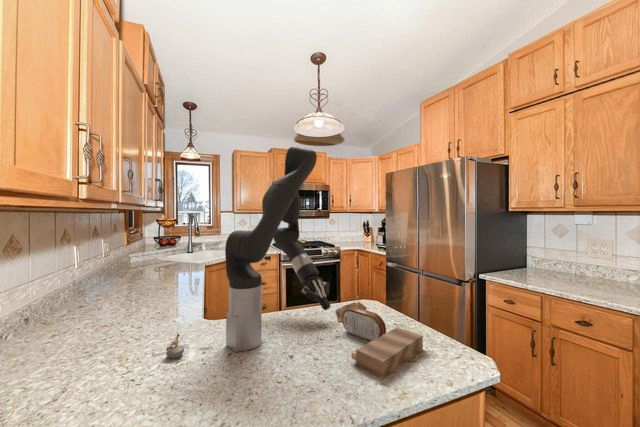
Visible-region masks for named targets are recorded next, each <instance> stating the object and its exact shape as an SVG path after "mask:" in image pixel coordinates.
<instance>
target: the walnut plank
mask: <svg viewBox="0 0 640 427" xmlns="http://www.w3.org/2000/svg"><path fill="white" fill-rule="evenodd" d="M423 337H424V336H423V334H419V333H416V332H414V331H413V332H412V331H410V330H408V329H404V328H401V327H399V326H398V327H397V326H396V327H395V328H393V329H391V330H389V331H386V334H384V335H382V336H380V337H378V338H377V339H375V340H373V341H371V342H370V341H369V342H367V343H366V344H364V345H362V346H360V347H359V348H357V349H355V350H354V351H352V352H350V353H351V359H352V360H354V361H355V366H356V367H358V366H359V367H358V368H360V367H361V368H360V369H362V370H364V371H366V372H367V373H368V372H369V373H370V374H372V375H374V376H376V377H378V378H381V379H382V380H385V379H386V378H387V377H388V376H389V375H391V374H393V373H394V372H395V371H396V370H397V369H399V368H401V366H403V365H404V364H406V363H407V362H408V361H410V360H411V359H412V358H414V357H415V356H416V355H417V354H419V353H420V352H422V351H423V349H424V347H423V346H424V345H423V344H424V342H423V341H424V340H423V339H424V338H423Z"/></svg>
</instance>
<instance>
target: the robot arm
mask: <svg viewBox="0 0 640 427" xmlns="http://www.w3.org/2000/svg"><path fill="white" fill-rule="evenodd" d="M317 158H318V157H317V153H316V151H315V150H313V149H310V148H307V147H303V146H302V147H301V146H297V145H291V146H290V147H289V148H287V151H286V155H285V160H284V175H283V176H281V177H279V178H278V179H276V180H275V181H273V183H271V184H270V185H269V187H268V189H267V190H266V192H265V193H264V195H263V197H262V202H261V206H262V207H261V208H262V210H261V211H262V215H261V216H262V217H261V218H260V220H259V222H258V224H257V225H256V226H255V228H253V229H252V230H239V229H238V230H235V231H232V232H231V233H230V234H229V235H228V236H227V239H226V242H225V247H224V248H225V250H224V251H225V253H224V254H225V272H226V278H227V280H228V290H229V291H228V293H229V294H228V296H229V297H228V303H229V304H228V310H229V311H227V312H226V314H225V321H226V322H225V326H226V327H225V328H226V330H225V334H226V335H225V336H226V337H225V345H226V346H227V347H228V348H229V349H231V350H232V351H234V352H235V353H238V352H242V351H243V352H244V351H250V350H254V349H256V348H258V347H259V346H260V345H261V344H262V336H263V334H262V323H263V322H262V315H263V314H262V304H263V302H262V300H263V299H262V296H263V295H262V293H263V292H262V290H263V289H262V288H263V287H262V285H263V284H262V283H263V282H262V281H263V280H262V275H261V274H260V272H258V271H256V270H255V269H254V268H253V266H252V264H256V263H259V262H260V261H262V260H263V259H264V258H265V256H266V254H267V253H268V251H269V249H270V247H271V244H272V242H273V240H274V243H275V245H277V247H278V248H279V249H280V250H281V251H282V253H284V254H285V255H286V256H287V258H288V260H289V261H290V264H291V266H292V269H293V270H294V272H295V274H296V276H297V278H298V279H299V281H300V283H301V284H302V285H303V288H302V289H301V291H300V293H301V294H302V295H304V296H305V297H307V298H308V299H309V300H312V301H313V302H315V301H317V302H318V303H319V305H320V306H321V308H322V309H323V310H324V311H327V310H329V309H330V308H331V304H330V302H329V300H328V298H327V297H328V296H329V295H330V282H329V281H323V278H321V277H320V273H319V272H320V271H318V269H317V267H316V265H315V264H314V262H313V261H312V259H311V257H310V255H308V254H307V251H306V250H305V248H304V246H303V245H302V244H300V243H297V242H298V241H299V238H300V225H299V216H300V211H301V205H302V204H301V197H300V195H299V191H300V189H301V187H302V185H303V184H304V183H305V181H306V180H307V179H308V177H309V176H310V174H311V173H312V171H313V170H314V168H315V166H316V163H317ZM282 222H283V223H285V224H286V223H287V225H288V226H287V227H279V226H280V225H281V223H282Z"/></svg>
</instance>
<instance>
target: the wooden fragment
mask: <svg viewBox="0 0 640 427" xmlns="http://www.w3.org/2000/svg"><path fill="white" fill-rule="evenodd" d="M356 301H357V302H358V303H355V302H356ZM356 301H353V302H351V303H348V304H346V305H343V306H341V307H338V308H337V309H336V310H335V312H336V317H337V323H339V324H340V323H342V324H343V321H342V315H343V312H344V311H345V310H347V309H348V308H350V307H357V308H360V309H364V310H367V306H365V305H364V304H363V303H361V301H359V300H356Z"/></svg>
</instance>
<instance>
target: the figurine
mask: <svg viewBox="0 0 640 427" xmlns="http://www.w3.org/2000/svg"><path fill="white" fill-rule="evenodd" d="M179 338H180V333H177V334H176V337H175V338H174V339H173V340H172V342H170V343H167V344H166V345H167V347H166V349H165V350H166V353H165V354H166V358H168V359H172V360H173V359H180V358H182V357H183V354H184V353H185V346H184V345H179V344H180V343H179V342H180V341H179ZM174 340H175V341H174Z"/></svg>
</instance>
